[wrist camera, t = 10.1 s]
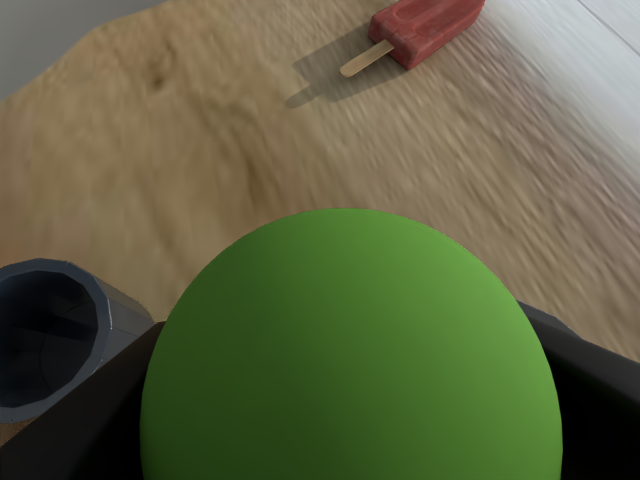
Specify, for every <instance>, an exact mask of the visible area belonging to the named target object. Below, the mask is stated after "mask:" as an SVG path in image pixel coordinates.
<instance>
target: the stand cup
mask: <svg viewBox="0 0 640 480" xmlns="http://www.w3.org/2000/svg"><path fill="white" fill-rule="evenodd" d="M154 325H155V324H154V321H153V319H152V317H151V315H150V314H149V313H148V311H147V310H146V309H145V308H144V307H143V306H142V305H141V304H140V303H139V302H137V301H136V300H134V299H132V298H131V297H129V296H127V295H126V294H124V293H122V292H121V291H119V290H117V289H116V288H114V287H112V286H111V285H109V284H107V283H106V282H104V281H102V280H101V279H99V278H97V277H96V276H94V275H92V274H91V273H89V272H87V271H85V270H84V269H82V268H80V267H78V266H77V265H75V264H73V263H71V262H68V261H62V260H53V259H44V258H36V259H32V260H28V261H23V262H19V263H15V264H10V265H7V266H4V267H2V268H1V269H0V423H5V424H15V423H22V422H29V421H34V420H35V419H36V418H38V417H39V416H40V415H41V414H43V413H44V412H45V411H47V410H48V409H49V408H50V407H52V406H53V405H54V404H55V403H57V402H58V401H59V400H60V399H62V398H63V397H64V396H65V395H67V394H68V393H69V392H70V391H72V390H73V389H74V388H76V387H77V386H78V385H79V384H81V383H82V382H83V381H84V380H86V379H87V378H88V377H89V376H91V375H92V374H93V373H94V372H96V371H97V370H98V369H99V368H101V367H102V366H103V365H105V364H106V363H107V362H108V361H110V360H111V359H112V358H113V357H115V356H116V355H117V354H118V353H120V352H121V351H122V350H123V349H125V348H126V347H127V346H128V345H130V344H131V343H132V342H134V341H135V340H136V339H137V338H139V337H140V336H141V335H142V334H144V333H145V332H146V331H147V330H149V329H150V328H151V327H152V326H154Z"/></svg>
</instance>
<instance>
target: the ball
mask: <svg viewBox="0 0 640 480" xmlns="http://www.w3.org/2000/svg"><path fill="white" fill-rule="evenodd" d="M139 436H140V459H141V465H142V471H143V478H144V480H561V467H562V453H563V445H562V423H561V415H560V409H559V403H558V396H557V392H556V388H555V384H554V380H553V377H552V373H551V369H550V366H549V364H548V361H547V358H546V356H545V353H544V351H543V348H542V346H541V343H540V341H539V339H538V337H537V335H536V333H535V331H534V329H533V327H532V325H531V324H530V322H529V320H528V318H527V317H526V315H525V314H524V312H523V310H522V309H521V307H520V306H519V304H518V303H517V301H516V300H515V298H514V297H513V296H512V295H511V293H510V292H509V291H508V290H507V289H506V287H505V286H504V285H503V284H502V283H501V281H500V280H499V279H498V278H497V277H496V276H495V275H494V274H493V273H492V272H491V271H490V270H489V269H488V268H487V267H486V266H485V265H484V264H483V263H482V262H481V261H480V260H479V259H478V258H476V257H475V256H474V255H472V254H471V253H470V252H469V251H467V250H466V249H465V248H464V247H462V246H461V245H460V244H458V243H456V242H455V241H453V240H452V239H450V238H448V237H447V236H445V235H444V234H442V233H440V232H438V231H436V230H434V229H432V228H430V227H428V226H426V225H424V224H422V223H419V222H417V221H414V220H411V219H408V218H405V217H402V216H399V215H395V214H391V213H386V212H382V211H377V210H368V209H358V208H332V209H321V210H314V211H307V212H303V213H299V214H295V215H291V216H287V217H284V218H281V219H279V220H276V221H274V222H271V223H269V224H266V225H264V226H262V227H260V228H258V229H256V230H254V231H252V232H251V233H249V234H247V235H245V236H243V237H242V238H240V239H239V240H237V241H236V242H235V243H233V244H232V245H230V246H229V247H228V248H226V249H225V250H223V251H222V252H221V253H220V254H219V255H218V256H217V257H216V258H214V259H213V260H212V261H211V262H210V263H209V264H208V265H207V266H206V267H205V268H204V269H203V270H202V271H201V272H200V273H199V275H198V276H197V277H196V278H195V279H194V280H193V282H192V283H191V284H190V285H189V286H188V288H187V289H186V290H185V292H184V293H183V295H182V296H181V298H180V299H179V301H178V302H177V304H176V305H175V307H174V308H173V310H172V311H171V313H170V315H169V317H168V319H167V321H166V323H165V325H164V327H163V329H162V331H161V333H160V335H159V337H158V339H157V342H156V345H155V348H154V351H153V354H152V356H151V359H150V362H149V365H148V370H147V374H146V379H145V383H144V388H143V392H142V400H141V411H140V421H139Z"/></svg>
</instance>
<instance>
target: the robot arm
mask: <svg viewBox="0 0 640 480" xmlns="http://www.w3.org/2000/svg"><path fill="white" fill-rule="evenodd" d="M526 317H527V318H528V320H529V322H530V324H531V325H532V327H533V329H534V331H535V333H536V335H537V337H538V339H539V341H540V343H541V346H542V348H543V351H544V353H545V356H546V358H547V361H548V364H549V366H550V369H551V373H552V377H553V380H554V384H555V388H556V392H557V396H558V403H559V409H560V415H561V423H562V445H563V453H562V467H561V480H640V363H637V362H635V361H633V360H630V359H628V358H626V357H623V356H621V355H618V354H616V353H614V352H611V351H609V350H607V349H604V348H602V347H600V346H597V345H595V344H593V343H590V342H588V341H585V340H583V339H581V338H578V337H576V336H574V335H571V334H569V333H567V332H564V331H562V330H560V329H557V328H555V327H552V326H550V325H548V324H545V323H543V322H541V321H538V320H536V319H534V318H531V317H529V316H527V315H526ZM165 323H166V321H164V322H158V323H156V324H155V325H154V326H152V327H151V328H150V329H149V330H147V331H146V332H145V333H144V334H142V335H141V336H140V337H139V338H137V339H136V340H135V341H134V342H132V343H131V344H130V345H128V346H127V347H126V348H125V349H123V350H122V351H121V352H120V353H118V354H117V355H116V356H115V357H113V358H112V359H111V360H110V361H108V362H107V363H106V364H105V365H103V366H102V367H101V368H99V369H98V370H97V371H96V372H94V373H93V374H92V375H91V376H89V377H88V378H87V379H86V380H84V381H83V382H82V383H81V384H79V385H78V386H77V387H76V388H74V389H73V390H72V391H70V392H69V393H68V394H67V395H65V396H64V397H63V398H62V399H60V400H59V401H58V402H57V403H55V404H54V405H53V406H52V407H50V408H49V409H48V410H47V411H45V412H44V413H43V414H41V415H40V416H39V417H38V418H36V419H35V420H34V421H33V422H31V423H30V424H29V425H28V426H26V427H25V428H24V429H23V430H21V431H20V432H19V433H17V434H16V435H15V436H14V437H12V438H11V439H10V440H9V441H7V442H6V443H5V444H4V445H2V446H1V447H0V480H144V478H143V471H142V465H141V459H140V436H139V421H140V411H141V400H142V392H143V388H144V383H145V379H146V374H147V370H148V365H149V362H150V359H151V356H152V354H153V351H154V348H155V345H156V342H157V339H158V337H159V335H160V333H161V331H162V329H163V327H164V325H165Z"/></svg>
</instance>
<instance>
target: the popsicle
mask: <svg viewBox="0 0 640 480" xmlns="http://www.w3.org/2000/svg"><path fill="white" fill-rule="evenodd" d="M484 2H485V0H400V1H398V2H396V3H395V4H393V5H391V6H389V7H387V8H385V9H383V10H381V11H379V12H378V13H376V14H375V15H373V16H372V19H371V23H370V27H369V31H368V36H369V37H370V38H371V39H372V40H373V41H375V42H376V43H377V44H376V45H375V46H373V47H372V48H370V49H368V50H367V51H365V52H364V53H362V54H360V55H359V56H357V57H356V58H354V59H353V60H351V61H349V62H348V63H346V64H345V65H343V66H342V67H341V68H340V70H339V73H340V75H341V76H343V77H350V76H352V75H354V74H355V73H357V72H359V71H360V70H362V69H363V68H365V67H366V66H368V65H369V64H371V63H372V62H374V61H375V60H377V59H379V58H380V57H382V56H383V55H385V54H386V53H389V54H390V55H391V56H392V57H393V58H394V59H395V60H397V61H398V62H399V63H400V64H401V65H402V66H404V67H405V68H406V69H408V70H410V69H412V68H414V67H415V66H417V65H418V64H419V63H420V62H422V61H423V60H424V59H426V58H427V57H428V56H430V55H431V54H432V53H434V52H435V51H436V50H438V49H439V48H440V47H442V46H443V45H444V44H446V43H447V42H449V41H450V40H451V39H453V38H454V37H455V36H457V35H458V34H459V33H461V32H462V31H463V30H465V29H466V28H467V27H469V26H470V25H471V24H472V23H473V22H474V21H475V20H476V18H477V17H478V15H479V13H480V11H481V9H482V7H483V6H484Z"/></svg>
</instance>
